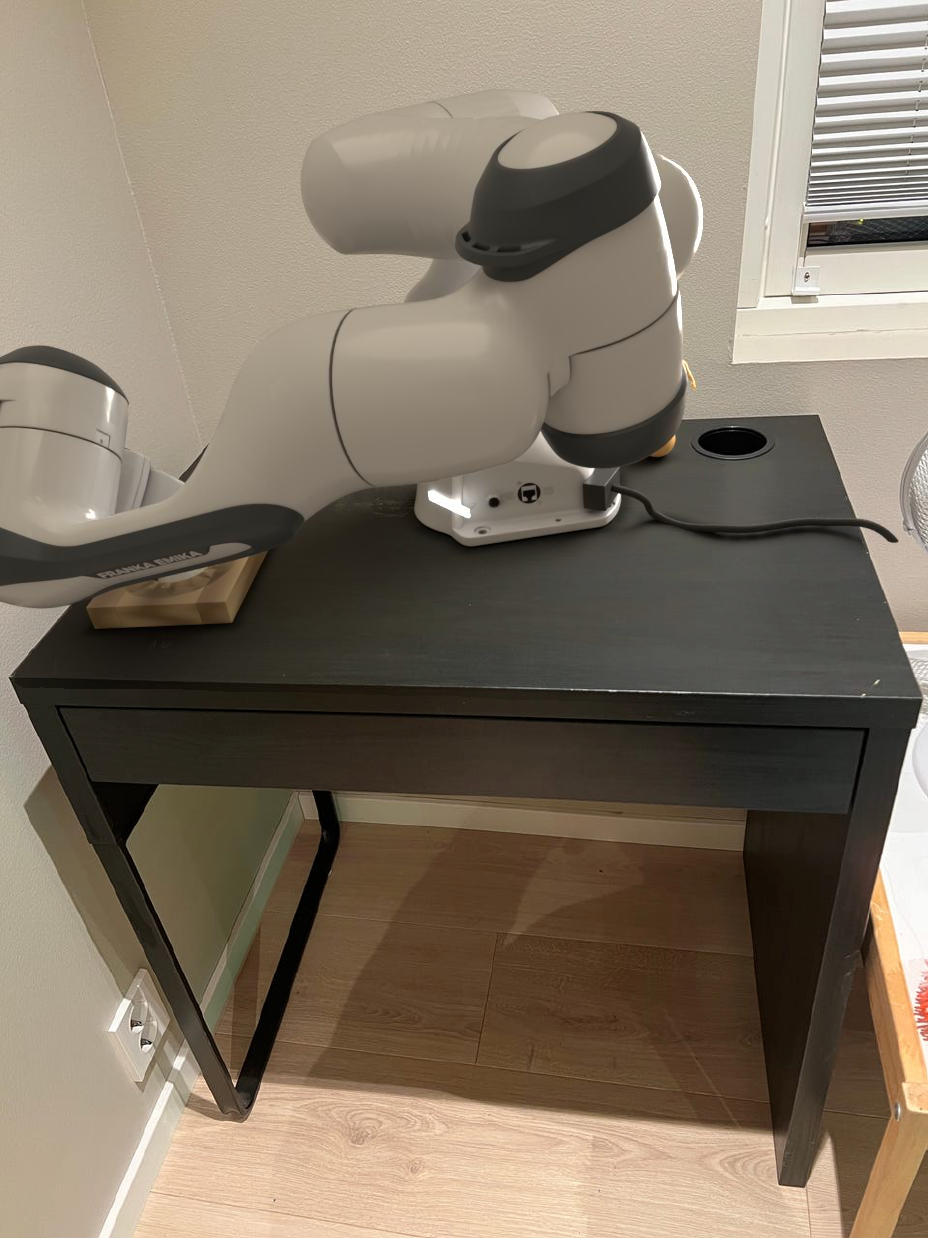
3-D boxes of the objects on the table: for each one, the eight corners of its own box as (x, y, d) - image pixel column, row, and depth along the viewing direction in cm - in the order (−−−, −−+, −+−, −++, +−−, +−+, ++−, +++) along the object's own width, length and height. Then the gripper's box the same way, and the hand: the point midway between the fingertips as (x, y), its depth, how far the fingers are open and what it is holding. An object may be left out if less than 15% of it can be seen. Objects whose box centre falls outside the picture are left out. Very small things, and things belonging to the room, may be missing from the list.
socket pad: (270, 546, 99) (265, 526, 98) (232, 623, 88) (225, 601, 86) (147, 553, 101) (140, 533, 100) (94, 629, 90) (85, 608, 88)
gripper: (-33, 496, 83) (87, 536, 95) (132, 529, 74) (240, 569, 86) (-12, 429, 83) (104, 478, 96) (154, 454, 74) (258, 504, 87)
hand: (170, 521), depth 91 cm, fingers open, 8 cm apart
